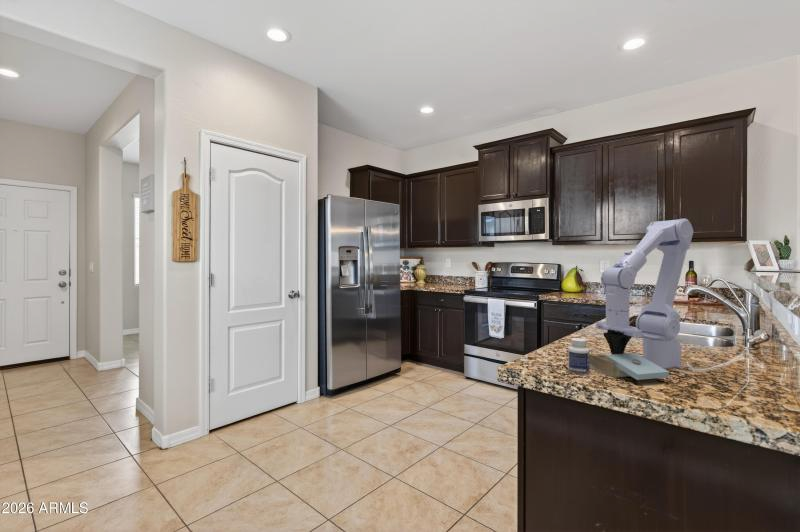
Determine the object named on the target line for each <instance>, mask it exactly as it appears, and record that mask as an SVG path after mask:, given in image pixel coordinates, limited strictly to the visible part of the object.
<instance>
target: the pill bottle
mask: <svg viewBox="0 0 800 532" xmlns="http://www.w3.org/2000/svg"><path fill="white" fill-rule="evenodd" d="M587 345H588V340H587V339H585V338H582V337H579V338H578V337H573V338H571V339H570V346H568V353H567V354H568V356H567V357H568V360H567V361H568V367H567V368H568V372H570V373H571V374H576V375H588V374H590V371H591V369H590V354H591V351H590V349H589V348H588V347H587Z"/></svg>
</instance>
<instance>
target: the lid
mask: <svg viewBox="0 0 800 532" xmlns="http://www.w3.org/2000/svg"><path fill="white" fill-rule="evenodd" d="M624 353H625V354H611V353H610V354H611V355H606V356H605V359H606V360H609V361H612V362H615V367H617V368H619V369H620V370H622V371H623V372H625V373H627V374H628V375H630V376H629V377H631V378H633V379H635V380H636V381H640V380H651V379H653V380H654V379H662V378H669V376H670V375H669V374H670V371H669V370H667V369H666V368H662V367H660V366H658V365H656V364H654V363H652V362H650V361H649V360H647V359H645V358H643V356H641V355H640V354H637V353H636V352H629V353H627V352H624Z"/></svg>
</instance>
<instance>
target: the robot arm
mask: <svg viewBox="0 0 800 532" xmlns="http://www.w3.org/2000/svg"><path fill="white" fill-rule="evenodd" d="M693 234H694V228H693V225H692V223H691V222H690V221H689V219H688V218H679V219H671V220H659V221H658V220H655V221H651V222H650V223H649V225H648V226H647V227H646V229H645V235H644V236H643V238H642V239H641V240H640V242H639V243H638V244H637V245H636V247H634V249H628V250H625V251H624V252H623V255H622V256H621V257H620V258H619V259H618V260H617V261H616V262H615V264H614V265H612V267H611V266H610V267H607V268H606V269H605V270H603V272H602V274H601V276H600V282H601V284H602V286H603V292H604V293H605V321H595V329H597V330H598V329H599V330H600V329H601V330H605V331H606V332H603V336H604V338H605V340H606V342H607V344H608V347H609V350H610V354H623V353H625V350H626V347H627V345H628V344H629V341H630V340H631V339H632V338H635V339H637V338H639V339H641V338H642V357H643V358H645V359H647V360H649V361H650V362H652V363H654V364H656V365H658V366H660V367H662V368H663V369H671V368H680V369H685V367H683V366H682V345H681V342H680V341H679V340H678V339H677V338H676V337H678V335H679V334H680V332H681V323H680V322H681V314H679V312H678V311H676V309H674V307H673V306H674V301H675V298H676V293H677V290H678V287H679V282H680V279H681V275H682V271H683V266H684V263H685V259H686V255H687V251H688V250H689V249H690V246H691V243H692V238H693ZM655 248H656V249H657V250H658V251H660V252H662V253H663V257H662V260H661V265H660V266H659V267H660V268H659V272H658V275H657V280H656V283H655V287H654V290H653V295H652V298H651V302H650V303H648V304H647V305H645V306H643V307H641V310H640V313H639V314H638V316H637V317H636V319H635V327H636V328H635V327H633V326H630V288H631V287H632V286H634V285H635V280H636V277H637V274H638V272H639V271H640V270H641V269H642V268H643V267H644V266H645V264H646V263H647V261H648V260H647V256H648V255H650V254H651V253H652V251H653V250H655Z"/></svg>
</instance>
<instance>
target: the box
mask: <svg viewBox="0 0 800 532" xmlns="http://www.w3.org/2000/svg"><path fill="white" fill-rule="evenodd" d="M625 353H626V352H624V353H623V354H625ZM606 355H611V353H601V354H599V353H598V354H591V353H590V370H593V371H595V372H598V373H600V374H602V375H605V376H608V377H611V378H613V379H615V378H625V377H631V376H630V375H628V374H627V373H625V372H623V371H622V370H620V369H619V368H617V367H615V362H612V361H609V360H606V359H605V356H606Z"/></svg>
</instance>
